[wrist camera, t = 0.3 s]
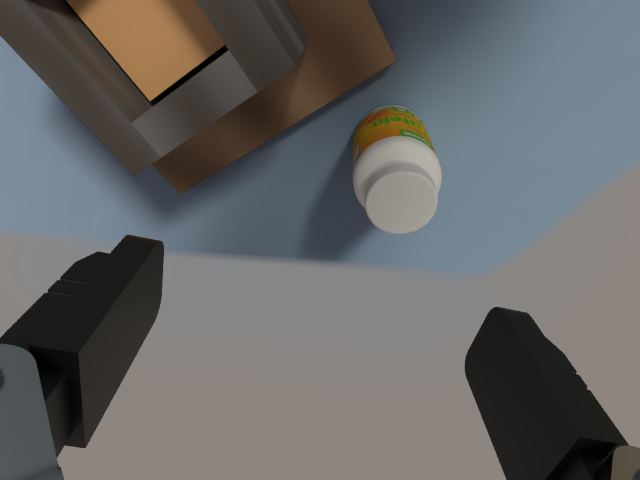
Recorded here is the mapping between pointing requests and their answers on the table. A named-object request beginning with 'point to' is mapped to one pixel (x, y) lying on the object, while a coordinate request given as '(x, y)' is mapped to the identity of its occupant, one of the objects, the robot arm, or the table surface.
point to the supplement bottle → (395, 170)
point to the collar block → (204, 78)
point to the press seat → (151, 38)
